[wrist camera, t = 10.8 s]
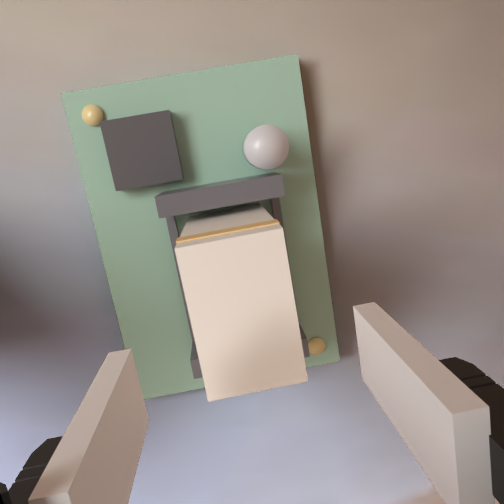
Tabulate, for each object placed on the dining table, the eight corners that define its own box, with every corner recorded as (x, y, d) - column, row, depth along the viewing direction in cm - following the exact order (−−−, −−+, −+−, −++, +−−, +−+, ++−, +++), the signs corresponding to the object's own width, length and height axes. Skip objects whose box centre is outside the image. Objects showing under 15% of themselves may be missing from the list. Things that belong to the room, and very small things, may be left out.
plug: (187, 215, 28) (173, 247, 18) (260, 202, 28) (283, 226, 18) (210, 321, 29) (207, 402, 20) (278, 307, 30) (309, 382, 20)
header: (161, 191, 27) (151, 198, 23) (273, 172, 28) (284, 175, 23) (196, 353, 30) (193, 387, 25) (299, 333, 30) (313, 364, 26)
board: (67, 96, 27) (41, 85, 23) (294, 58, 28) (307, 41, 24) (141, 391, 31) (129, 426, 27) (335, 353, 32) (353, 382, 28)
